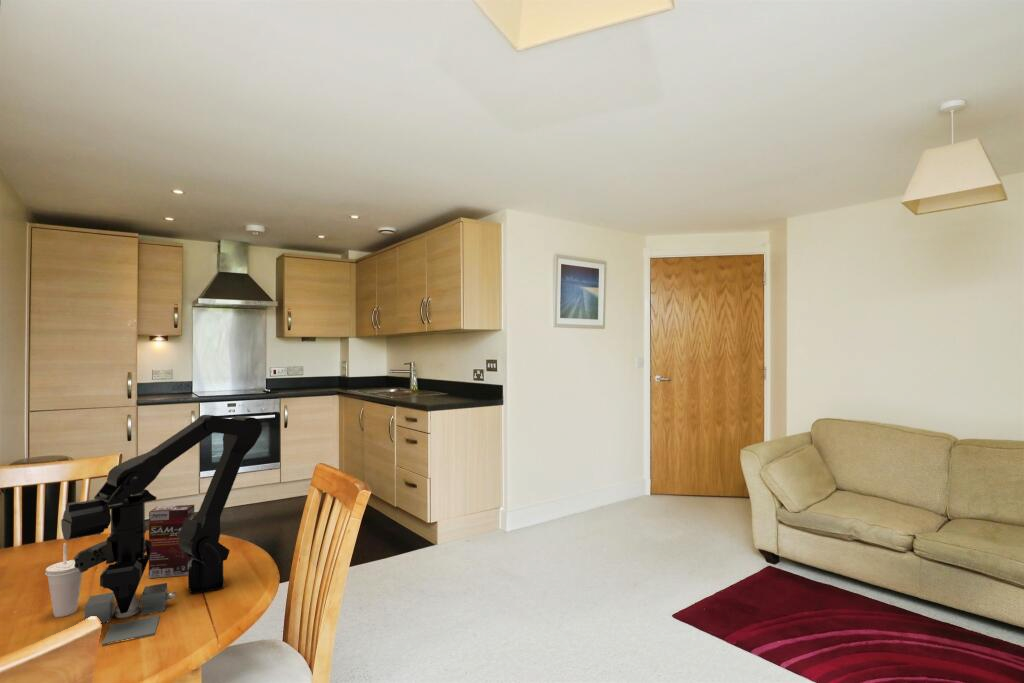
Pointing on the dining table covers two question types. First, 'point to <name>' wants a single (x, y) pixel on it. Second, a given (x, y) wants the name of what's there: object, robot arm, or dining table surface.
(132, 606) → the rook chess piece
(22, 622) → the dining table surface
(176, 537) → the supplement box
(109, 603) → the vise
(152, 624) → the mat
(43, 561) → the dining table surface
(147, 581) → the dining table surface
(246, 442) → the robot arm
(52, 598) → the smoothie
